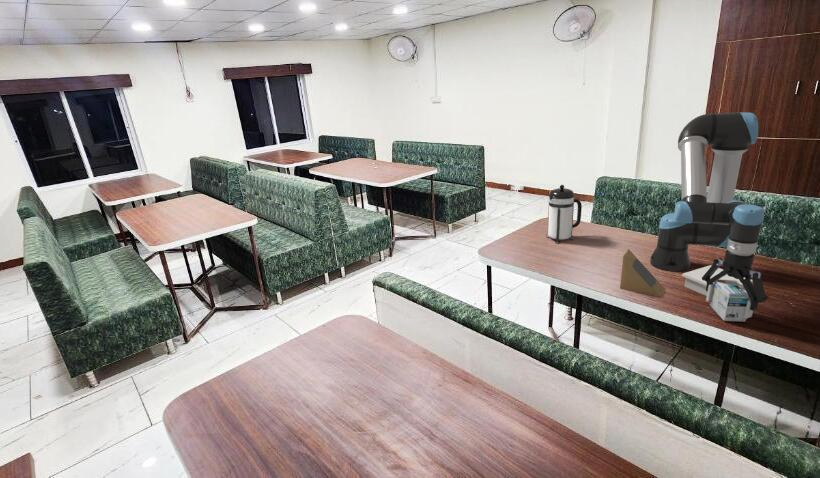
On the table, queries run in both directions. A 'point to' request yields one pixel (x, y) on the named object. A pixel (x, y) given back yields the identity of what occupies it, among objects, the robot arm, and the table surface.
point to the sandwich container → (638, 277)
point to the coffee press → (562, 213)
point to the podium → (698, 284)
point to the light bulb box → (729, 300)
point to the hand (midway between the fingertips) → (727, 308)
